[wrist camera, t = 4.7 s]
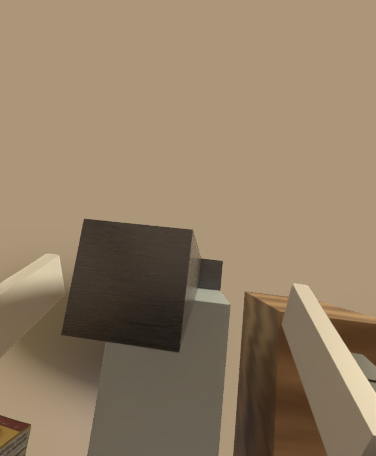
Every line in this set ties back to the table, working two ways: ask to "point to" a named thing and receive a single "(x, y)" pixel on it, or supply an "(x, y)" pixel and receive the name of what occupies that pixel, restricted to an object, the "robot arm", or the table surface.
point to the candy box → (13, 437)
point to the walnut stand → (283, 379)
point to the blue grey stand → (165, 390)
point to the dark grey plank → (136, 284)
